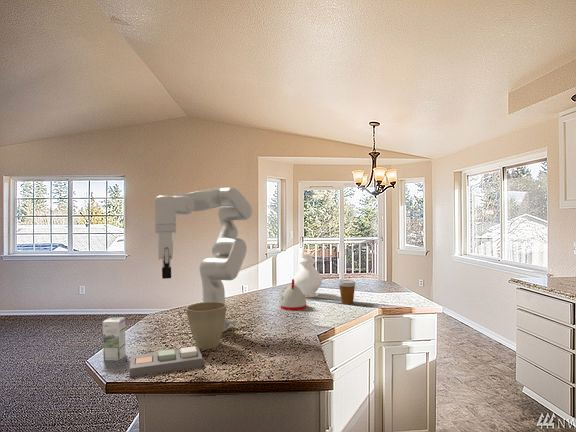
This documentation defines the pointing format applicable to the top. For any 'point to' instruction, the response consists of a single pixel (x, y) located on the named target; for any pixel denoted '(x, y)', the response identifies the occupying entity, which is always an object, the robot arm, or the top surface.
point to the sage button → (166, 355)
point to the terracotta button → (143, 360)
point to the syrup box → (114, 338)
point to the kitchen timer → (293, 298)
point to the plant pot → (206, 323)
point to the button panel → (164, 363)
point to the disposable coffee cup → (347, 291)
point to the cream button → (188, 352)
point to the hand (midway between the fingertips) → (166, 278)
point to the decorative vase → (308, 277)
